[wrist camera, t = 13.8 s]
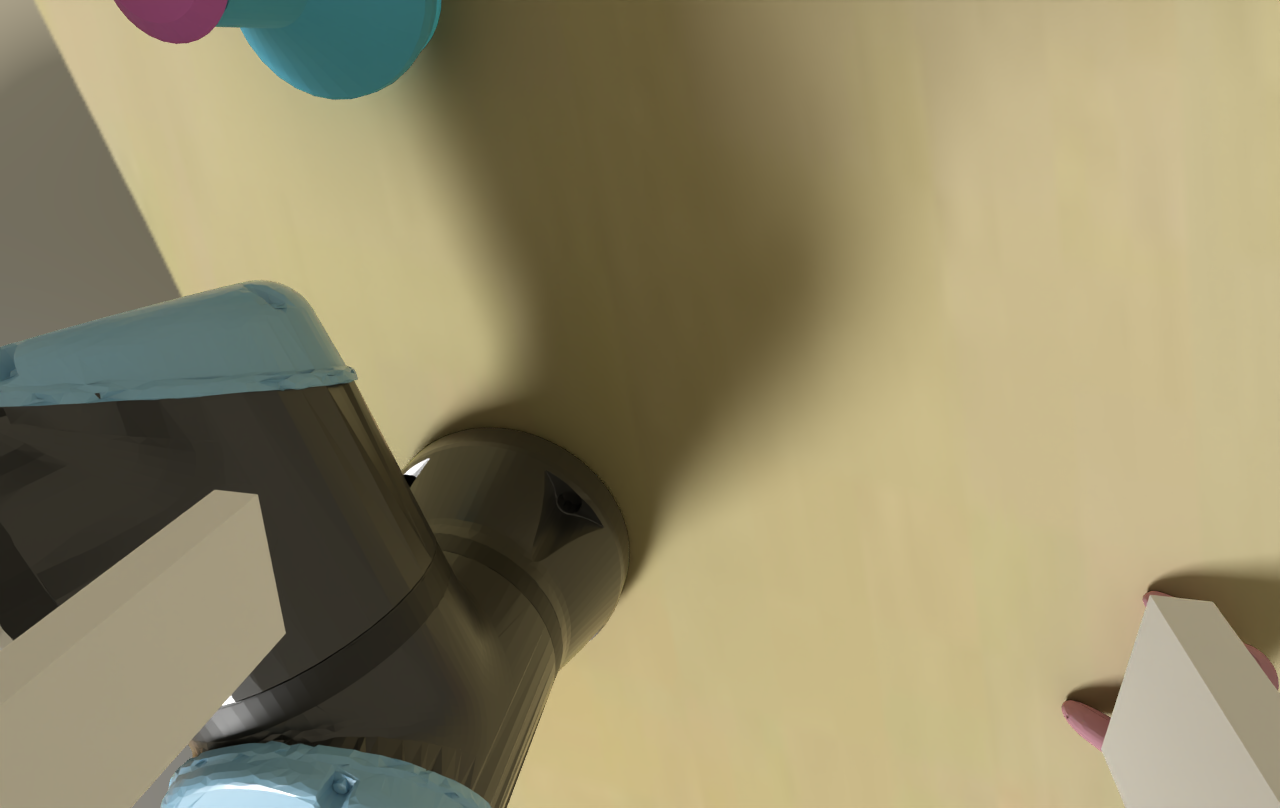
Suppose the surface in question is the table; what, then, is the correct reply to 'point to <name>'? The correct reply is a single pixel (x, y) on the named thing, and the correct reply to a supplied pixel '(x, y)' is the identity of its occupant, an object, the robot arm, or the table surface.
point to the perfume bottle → (306, 36)
